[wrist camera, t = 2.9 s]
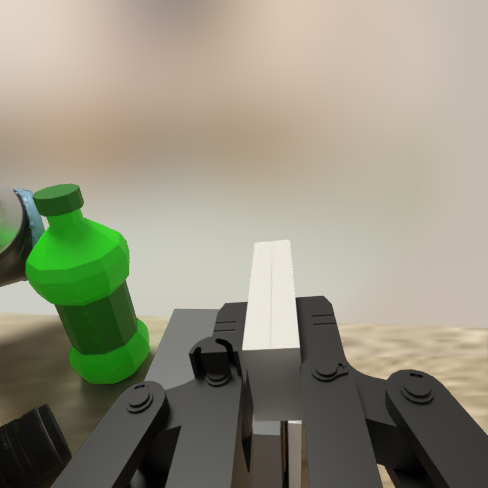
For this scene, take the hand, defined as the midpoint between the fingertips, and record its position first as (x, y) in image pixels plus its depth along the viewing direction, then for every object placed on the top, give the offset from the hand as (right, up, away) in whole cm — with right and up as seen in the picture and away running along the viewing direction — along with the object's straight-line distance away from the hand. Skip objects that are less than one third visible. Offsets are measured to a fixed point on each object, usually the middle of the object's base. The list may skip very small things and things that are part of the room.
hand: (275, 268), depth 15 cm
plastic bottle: (-18, -16, +31) cm, 39 cm away
